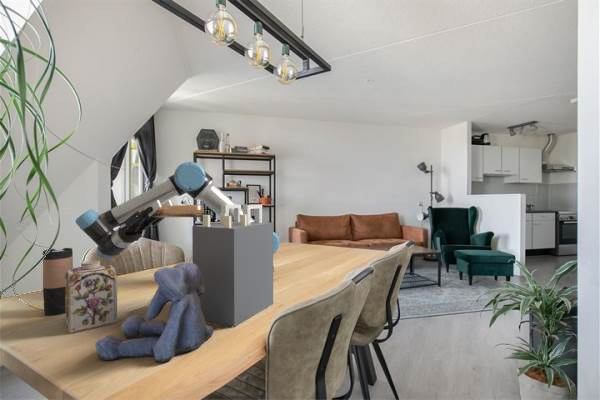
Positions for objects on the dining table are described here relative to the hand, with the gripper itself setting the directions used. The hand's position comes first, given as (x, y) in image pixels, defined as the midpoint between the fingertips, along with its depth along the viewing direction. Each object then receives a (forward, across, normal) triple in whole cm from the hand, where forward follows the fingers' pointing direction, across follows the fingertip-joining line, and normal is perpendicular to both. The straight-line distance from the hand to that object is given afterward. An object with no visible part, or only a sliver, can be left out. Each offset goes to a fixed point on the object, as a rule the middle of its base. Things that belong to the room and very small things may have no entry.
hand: (165, 203), depth 105 cm
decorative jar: (-23, +20, -27) cm, 41 cm away
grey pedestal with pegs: (+5, -6, -43) cm, 43 cm away
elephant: (+2, +20, -42) cm, 46 cm away
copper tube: (0, 0, -6) cm, 6 cm away
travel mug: (-39, +20, -18) cm, 47 cm away
